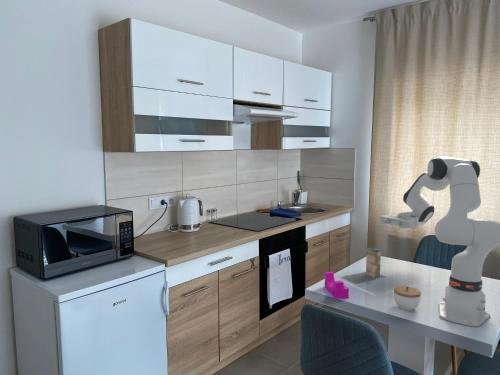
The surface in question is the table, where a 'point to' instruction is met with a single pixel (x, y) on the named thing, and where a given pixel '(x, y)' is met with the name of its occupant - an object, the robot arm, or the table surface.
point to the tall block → (373, 262)
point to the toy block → (335, 286)
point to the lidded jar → (407, 297)
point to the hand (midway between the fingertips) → (387, 222)
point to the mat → (361, 277)
